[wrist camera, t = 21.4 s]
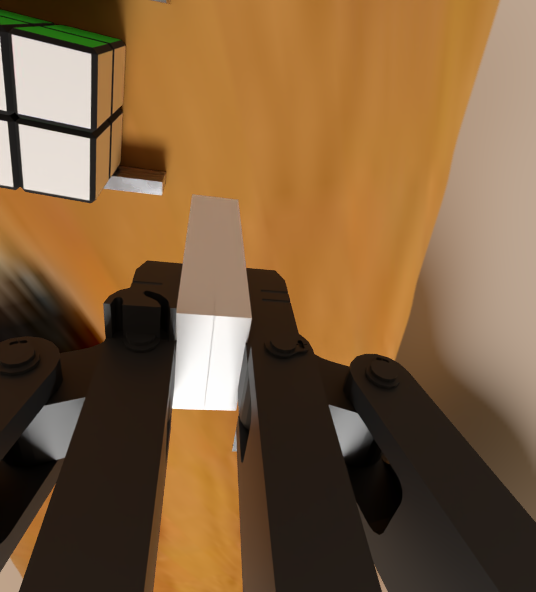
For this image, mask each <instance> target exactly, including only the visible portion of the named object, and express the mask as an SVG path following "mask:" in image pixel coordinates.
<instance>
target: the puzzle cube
mask: <svg viewBox="0 0 536 592" xmlns="http://www.w3.org/2000/svg"><path fill="white" fill-rule="evenodd" d="M125 51H126V45H125V44H124V42H123V41H122V40H120V39H116V38H112V37H108V36H104V35H100V34H96V33H92V32H88V31H85V30H81V29H77V28H73V27H69V26H65V25H55V24H54V23H52V22H48V21H44V20H40V19H37V18H33V17H29V16H25V15H21V14H17V13H13V12H9V11H5V10H1V9H0V187H1V188H7V189H13V190H16V189H18V188H19V187H21V188H22V189H23V190H24V191H25V192H30V193H36V194H41V195H47V196H53V197H58V198H64V199H70V200H76V201H81V202H87V203H92V202H93V201H95V200H96V198H97V197H98V195H99V194H100V193H101V191H102V190H103V188H104V187H105V185H106V184H107V182H108V181H109V179H110V178H111V176H112V175H113V173H114V172H115V170H116V169H117V167H118V166H119V164H120V163H121V143H122V120H123V112H122V111H121V109H120V108H119V107H121V106H122V105H123V98H124V75H125Z"/></svg>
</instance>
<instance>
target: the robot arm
mask: <svg viewBox="0 0 536 592" xmlns="http://www.w3.org/2000/svg"><path fill="white" fill-rule="evenodd" d="M103 305H104V320H105V335H106V339H105V341H104V342H103V343H101V344H98V345H96V346H93V347H91V348H87V349H82V350H77V351H71V352H65V353H59V349H58V348H57V347H56V346H55V345H54V344H53V343H52V342H50V341H48V340H45V339H43V338H38V337H19V338H12V339H8V340H5V341H3V342H0V572H1V570H2V569H3V567H4V565H5V564H6V562H7V561H8V559H9V557H10V556H11V554H12V553H13V551H14V549H15V548H16V546H17V545H18V543H19V541H20V540H21V538H22V537H23V535H24V533H25V532H26V530H27V529H28V527H29V525H30V524H31V522H32V521H33V519H34V517H35V516H36V514H37V513H38V511H39V509H40V508H41V506H42V505H43V503H44V501H45V500H46V498H47V497H48V495H49V493H50V492H51V490H52V489H53V487H54V485H55V484H56V485H55V488H54V491H53V494H52V497H51V499H50V502H49V505H48V508H47V511H46V514H45V517H44V520H43V523H42V526H41V529H40V532H39V534H38V537H37V540H36V543H35V546H34V549H33V552H32V555H31V558H30V561H29V564H28V567H27V570H26V572H25V575H24V578H23V581H22V584H21V587H20V590H19V592H153V587H154V578H155V568H156V559H157V550H158V541H159V532H160V523H161V513H162V504H163V495H164V486H165V477H166V467H167V458H168V449H169V440H170V431H171V413H172V409H202V410H236V408H237V402H238V406H239V416H238V422H237V427H236V433H235V438H234V444H233V450H232V451H237V463H238V486H239V510H240V533H241V556H242V579H243V592H382V590H381V587H380V584H379V580H378V576H377V573H376V570H375V567H376V568H377V571H378V573H379V575H380V576H381V579H382V581H383V582H384V584H385V587H386V589H387V590H388V592H536V522H535V521H534V520H533V519H532V518H531V516H530V515H529V514H528V513H527V512H526V510H525V509H524V508H523V507H522V506H521V504H520V503H519V502H518V501H517V500H516V499H515V497H514V496H513V495H512V494H511V493H510V491H509V490H508V489H507V488H506V487H505V486H504V485H503V483H502V482H501V481H500V480H499V478H498V477H497V476H496V475H495V474H494V473H493V471H492V470H491V469H490V468H489V467H488V466H487V464H486V463H485V462H484V461H483V459H482V458H481V457H480V456H479V455H478V454H477V452H476V451H475V450H474V449H473V448H472V447H471V445H470V444H469V443H468V442H467V441H466V439H465V438H464V437H463V436H462V435H461V433H460V432H459V431H458V430H457V429H456V428H455V426H454V425H453V424H452V423H451V422H450V420H449V419H448V418H447V417H446V416H445V414H444V413H443V412H442V411H441V410H440V409H439V407H438V406H437V405H436V404H435V403H434V402H433V400H432V399H431V398H430V397H429V396H428V394H427V393H426V392H425V391H424V390H423V388H422V387H421V386H420V385H419V384H418V383H417V381H416V380H415V379H414V378H413V377H412V376H411V374H410V373H409V372H408V371H407V370H406V369H405V368H404V367H403V366H401V365H400V364H399V363H397V362H396V361H394V360H392V359H390V358H388V357H384V356H381V355H377V354H364V355H360V356H357V357H356V358H355V359H354V360H353V361H352V362H351V364H350V367H348V366H345V365H341V364H338V363H335V362H331V361H328V360H325V359H323V358H320V357H319V356H317V355H315V354H314V352H313V349H312V347H311V345H310V344H309V342H308V341H307V340H306V339H305V338H303V337H302V336H301V335H300V334H299V333H298V329H297V325H296V322H295V318H294V314H293V310H292V306H291V303H290V298H289V295H288V291H287V287H286V283H285V280H284V279H283V278H282V277H281V276H280V275H279V274H278V273H277V272H276V271H274V270H263V269H252V268H246V263H245V255H244V246H243V238H242V229H241V220H240V212H239V203H238V200H235V199H227V198H218V197H210V196H201V195H192V201H191V208H190V215H189V223H188V230H187V237H186V244H185V251H184V259H183V264H180V263H169V262H158V261H146V262H145V263H144V264H142V265H141V266H140V267H139V268H137V269H136V272H135V275H134V278H133V282H132V284H131V287H130V288H127V289H123V290H119V291H117V292H115V293H114V294H112V295H110V296H109V297H108V298H107V299H106V301H105V302H104V303H103ZM374 565H375V566H374Z"/></svg>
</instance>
